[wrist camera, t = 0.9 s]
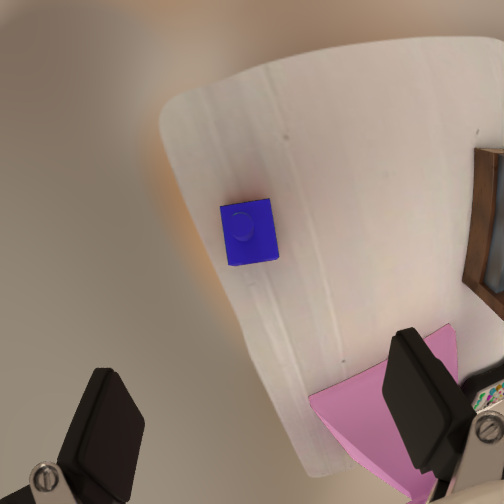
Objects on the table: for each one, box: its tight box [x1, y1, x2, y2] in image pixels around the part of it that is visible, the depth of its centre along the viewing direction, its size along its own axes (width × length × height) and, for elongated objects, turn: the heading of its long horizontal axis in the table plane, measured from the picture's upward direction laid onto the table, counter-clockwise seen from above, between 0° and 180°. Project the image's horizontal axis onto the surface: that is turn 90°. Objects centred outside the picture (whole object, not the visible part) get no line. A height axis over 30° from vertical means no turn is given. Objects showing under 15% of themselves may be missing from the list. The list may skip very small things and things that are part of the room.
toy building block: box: [220, 198, 279, 266], centre depth 23 cm, size 4×4×8 cm
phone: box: [462, 365, 504, 412], centre depth 36 cm, size 11×15×4 cm
